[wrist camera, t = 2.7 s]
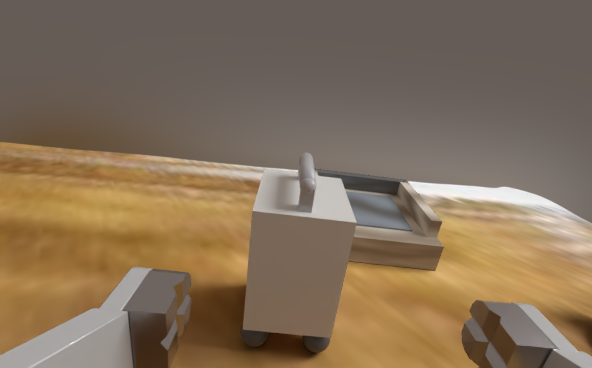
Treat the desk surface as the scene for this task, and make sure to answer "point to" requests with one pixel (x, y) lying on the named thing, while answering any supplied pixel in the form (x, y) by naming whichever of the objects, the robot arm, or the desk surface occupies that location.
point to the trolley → (297, 256)
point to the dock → (390, 222)
